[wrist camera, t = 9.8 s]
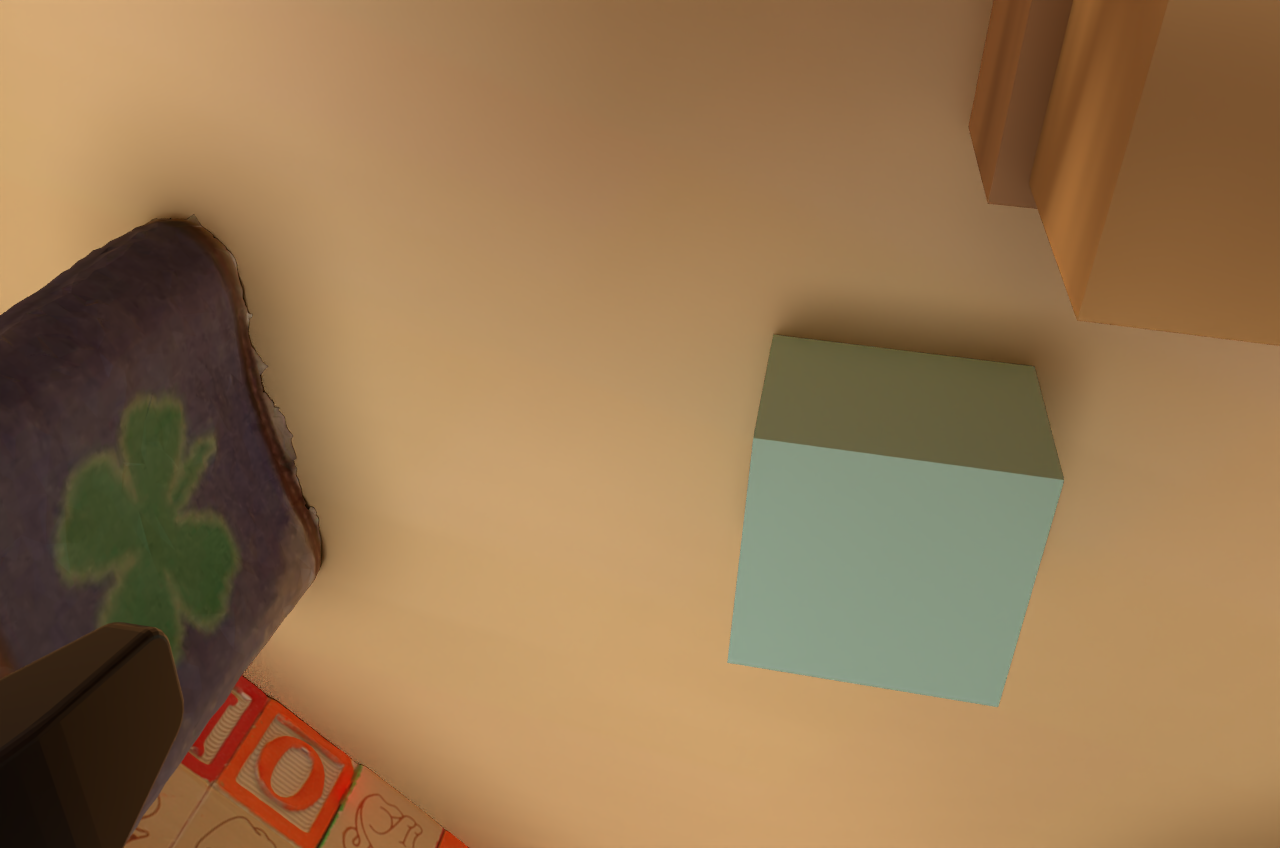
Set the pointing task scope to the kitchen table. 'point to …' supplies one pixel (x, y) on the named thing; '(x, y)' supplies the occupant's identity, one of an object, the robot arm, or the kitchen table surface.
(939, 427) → the tower base
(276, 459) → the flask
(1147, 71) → the oak cube
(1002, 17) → the walnut block
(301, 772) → the stack of blocks
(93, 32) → the kitchen table surface
